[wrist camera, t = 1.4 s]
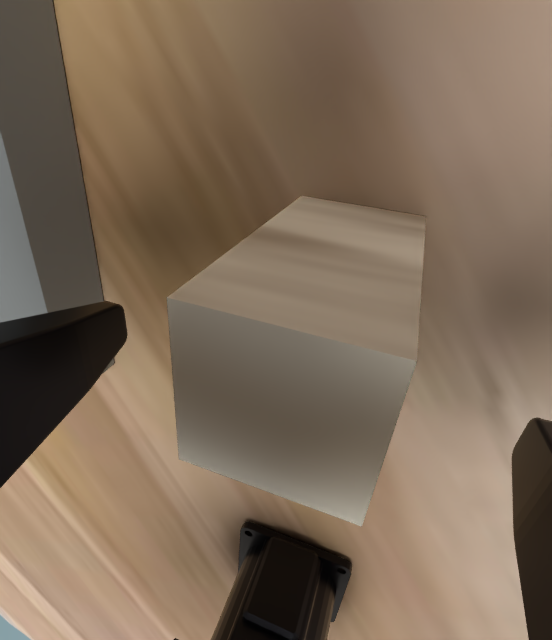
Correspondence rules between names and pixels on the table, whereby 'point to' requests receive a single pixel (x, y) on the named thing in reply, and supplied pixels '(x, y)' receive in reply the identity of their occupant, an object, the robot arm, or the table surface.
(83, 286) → the socket block
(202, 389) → the cream peg
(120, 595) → the table surface
